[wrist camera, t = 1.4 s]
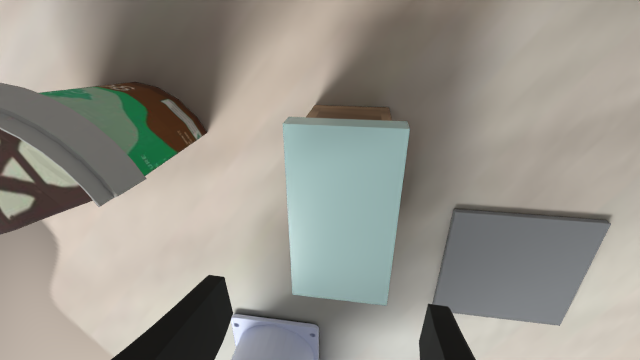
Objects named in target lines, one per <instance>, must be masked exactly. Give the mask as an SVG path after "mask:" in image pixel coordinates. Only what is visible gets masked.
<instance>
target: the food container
mask: <svg viewBox="0 0 640 360" xmlns="http://www.w3.org/2000/svg"><path fill="white" fill-rule="evenodd" d="M206 133H207V132H206V130H205V129H204V127H203V126H202V124H201V123H200V121H199V120H198V118H197V117H196V116H195V115H194V114H193V113H192V112H191V111H190V110H189V109H188V108H187V107H186V106H185V105H184V104H183V103H182V102H181V101H180V100H179V99H177V98H175V97H173V96H172V95H170V94H168V93H166V92H165V91H163V90H161V89H159V88H158V87H154V86H150V85H146V84H141V83H137V82H131V83H121V84H112V85H103V86H95V87H86V88H77V89H68V90H60V91H51V92H42V93H37V92H34V91H31V90H29V89H26V88H22V87H18V86H13V85H8V84H4V83H0V234H3V233H7V232H10V231H13V230H16V229H19V228H22V227H24V226H27V225H29V224H32V223H34V222H37V221H39V220H42V219H44V218H47V217H50V216H52V215H55V214H58V213H60V212H63V211H66V210H68V209H71V208H74V207H77V206H79V205H82V204H85V203H88V202H90V201H94V202H95V203H96V205H97V206H98V207H100V206H102V205H103V204H105V203H106V202H108V201H109V200H111V199H113V198H114V197H117V196H119V195H121V194H122V193H124V192H126V191H127V190H129V189H131V188H132V187H134V186H135V185H137V184H139V183H140V182H142V181H144V180H145V179H146V177H145V176H146V175H147V174H149V173H150V172H151V171H153V170H154V169H156V168H157V167H159V166H160V165H162V164H163V163H164V162H166V161H167V160H169V159H170V158H172V157H173V156H175V155H176V154H177V153H179V152H180V151H182V150H183V149H185V148H186V147H188V146H189V145H190V144H192V143H193V142H195V141H196V140H198V139H199V138H201V137H202V136H203V135H205V134H206Z"/></svg>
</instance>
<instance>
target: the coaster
mask: <svg viewBox="0 0 640 360" xmlns="http://www.w3.org/2000/svg"><path fill="white" fill-rule="evenodd" d="M610 225H611V223H609V222H608V221H607V220H597V219H584V218H570V217H557V216H544V215H530V214H517V213H503V212H490V211H476V210H463V209H454V210H453V215H452V219H451V224H450V228H449V233H448V237H447V242H446V246H445V251H444V255H443V259H442V264H441V268H440V273H439V277H438V282H437V286H436V291H435V295H434V300H433V304H434V305H442V306H448V307H449V308H450V309H451V311H452V313H457V314H466V315H474V316H483V317H491V318H500V319H508V320H516V321H525V322H533V323H542V324H550V325H559V326H560V324H561V322H562V320H563V318H564V316H565V314H566V312H567V310H568V308H569V306H570V304H571V302H572V300H573V298H574V296H575V294H576V292H577V290H578V288H579V286H580V284H581V282H582V280H583V279H584V277H585V275H586V273H587V271H588V269H589V267H590V265H591V263H592V261H593V259H594V257H595V255H596V253H597V251H598V249H599V247H600V245H601V243H602V241H603V239H604V237H605V235H606V233H607V231H608V229H609V227H610Z"/></svg>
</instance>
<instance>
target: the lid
mask: <svg viewBox="0 0 640 360" xmlns="http://www.w3.org/2000/svg"><path fill="white" fill-rule="evenodd" d="M409 132H410V128H409V125H408V123H407V121H384V120H358V119H331V118H305V117H289V118H288V119H287V120H286V121H285V122H284V123H283V137H284V154H285V172H286V189H287V207H288V224H289V242H290V259H291V277H292V294H293V295H300V296H309V297H317V298H325V299H334V300H342V301H351V302H359V303H367V304H376V305H384V306H387V299H388V291H389V284H390V276H391V268H392V261H393V253H394V246H395V238H396V230H397V223H398V215H399V208H400V200H401V192H402V185H403V177H404V170H405V162H406V154H407V147H408V139H409Z"/></svg>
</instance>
